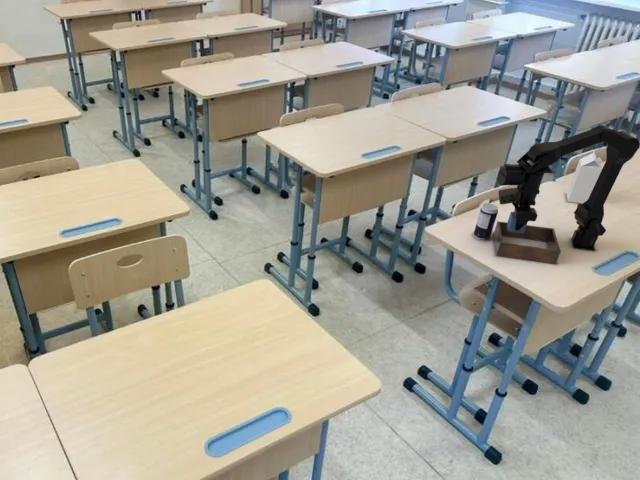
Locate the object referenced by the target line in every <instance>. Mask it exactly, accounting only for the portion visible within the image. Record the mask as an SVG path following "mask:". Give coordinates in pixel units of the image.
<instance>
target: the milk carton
mask: <svg viewBox="0 0 640 480" xmlns="http://www.w3.org/2000/svg"><path fill="white" fill-rule="evenodd" d="M601 163H603V160H602V158H601V157H597V156H596V152H595V150H593V151H592V153H590V154H588V155H586V156H584V157H582V158H580V159H579V161H578V163H577V166H576V169H575V171H574V173H573V176H572V179H571V181H570V183H569V186H568V189H567V192H566V201H567V202H569V203H576V204H579V203H582V204H583V203H584V202H585V201H587V200H588V198H589V196H590V194H591V192H592V190H593V188H594V186H595V183H596V181H597V179H598V177H599V175H600V173H601V171H602V168H603V167H602V164H601Z"/></svg>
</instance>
